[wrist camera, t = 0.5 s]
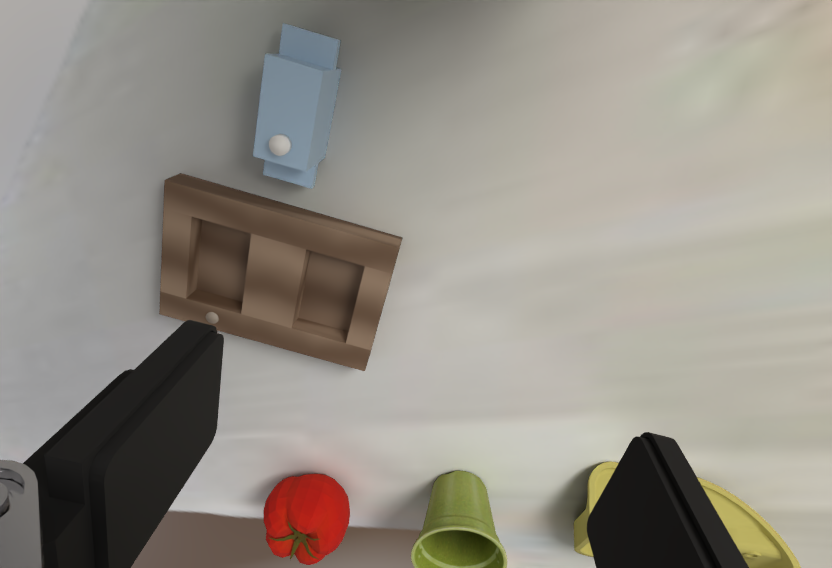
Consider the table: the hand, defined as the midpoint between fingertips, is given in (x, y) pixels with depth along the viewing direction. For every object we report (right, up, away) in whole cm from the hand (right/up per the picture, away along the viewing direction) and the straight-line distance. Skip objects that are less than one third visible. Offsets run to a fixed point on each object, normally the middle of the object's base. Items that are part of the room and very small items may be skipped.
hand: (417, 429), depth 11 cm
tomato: (-12, -21, +47) cm, 52 cm away
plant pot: (+5, -20, +45) cm, 49 cm away
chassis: (-13, +4, +34) cm, 37 cm away
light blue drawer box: (-9, +17, +28) cm, 34 cm away
